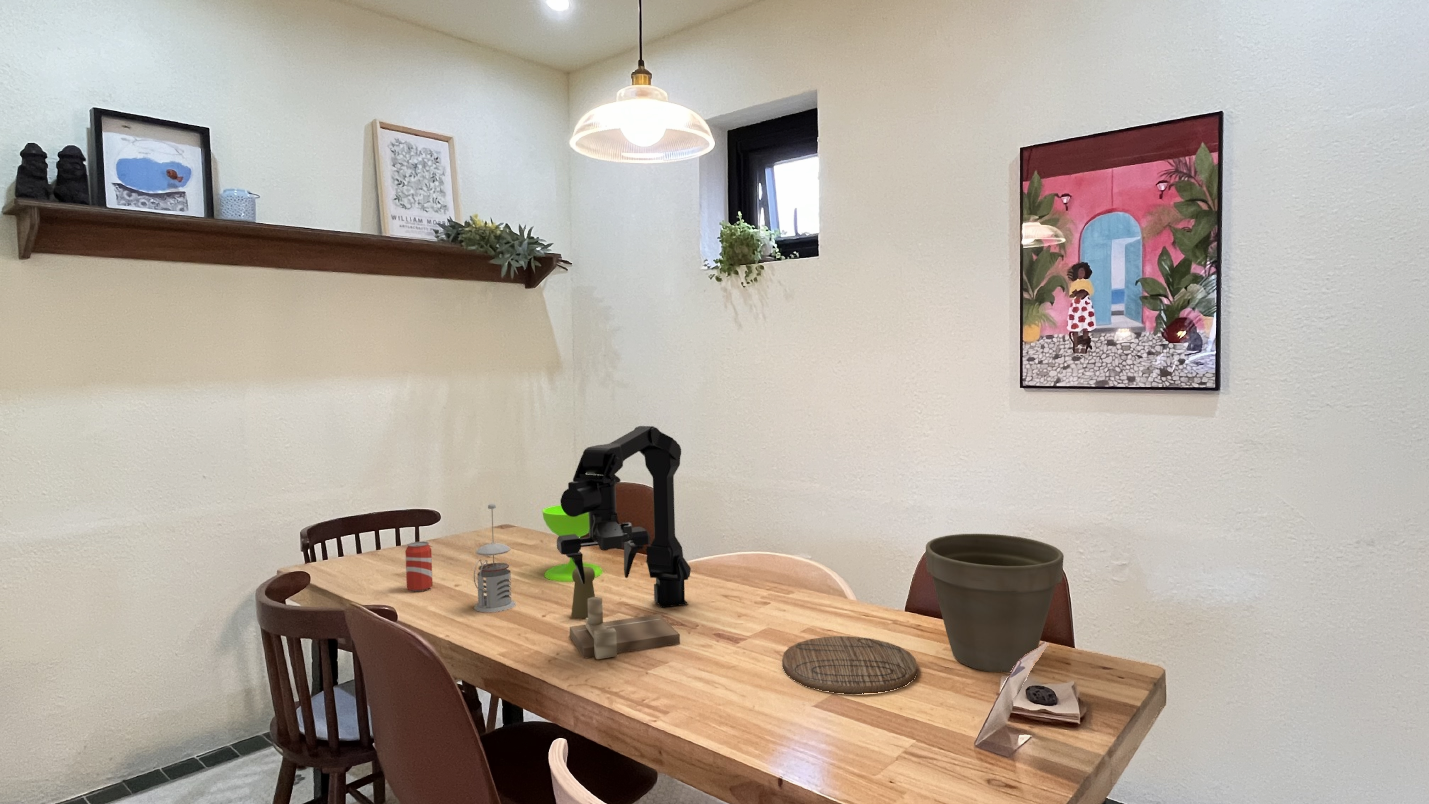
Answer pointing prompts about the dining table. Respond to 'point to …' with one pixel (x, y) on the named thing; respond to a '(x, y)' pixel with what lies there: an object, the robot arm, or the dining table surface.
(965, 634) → the plant pot
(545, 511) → the wineglass
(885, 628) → the dining table surface
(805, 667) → the trivet
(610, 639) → the lever handle
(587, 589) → the cork
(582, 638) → the board
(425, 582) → the beverage can
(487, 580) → the french press
